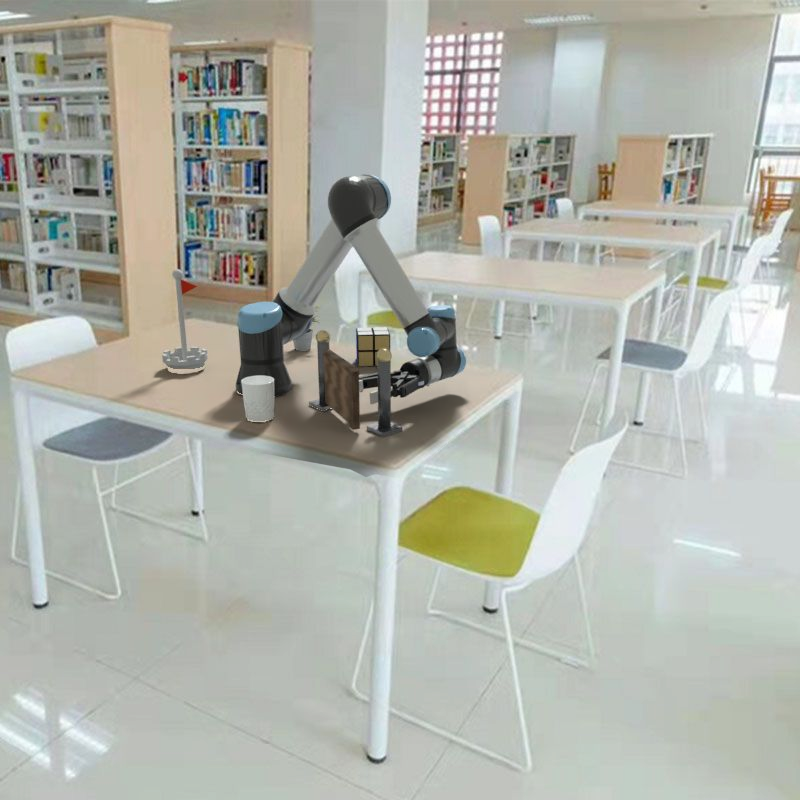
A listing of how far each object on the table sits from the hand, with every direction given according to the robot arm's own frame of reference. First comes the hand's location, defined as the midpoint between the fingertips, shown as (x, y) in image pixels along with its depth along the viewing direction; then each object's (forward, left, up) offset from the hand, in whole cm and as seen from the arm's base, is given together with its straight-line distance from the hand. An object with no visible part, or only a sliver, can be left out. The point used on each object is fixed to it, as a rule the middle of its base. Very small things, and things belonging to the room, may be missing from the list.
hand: (356, 395), depth 184 cm
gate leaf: (-5, +1, -6) cm, 8 cm away
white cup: (-23, -7, -7) cm, 26 cm away
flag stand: (-68, +21, -7) cm, 72 cm away
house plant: (-47, +55, -7) cm, 73 cm away
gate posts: (-3, +3, -7) cm, 8 cm away
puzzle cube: (-20, +51, -8) cm, 56 cm away
